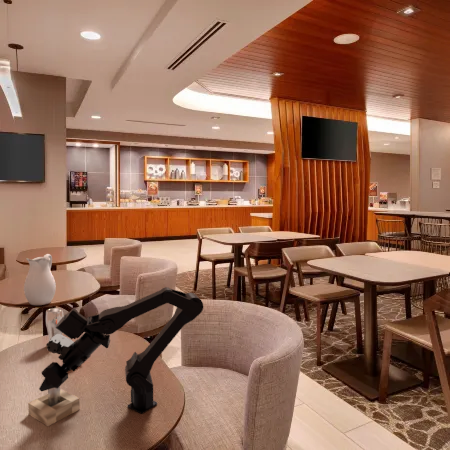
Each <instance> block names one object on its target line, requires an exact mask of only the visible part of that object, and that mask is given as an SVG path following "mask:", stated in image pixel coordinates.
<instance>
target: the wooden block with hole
mask: <svg viewBox="0 0 450 450" xmlns="http://www.w3.org/2000/svg"><path fill="white" fill-rule="evenodd" d="M27 404H28V405H27V407H28V408H27V410H28V415H29V416H31V417H32V418H34V419H35V420H37V421H38V422H40V423H42V424H44V425H45V426H46V427H49V426H51V425H53V424H55V423H57V422H59V421H61V420H62V419H65V418H66V417H68V416H70V415H72V414H73V413H76V412H77V411H80V408H81V406H80V398H79V397H77V396H76V395H74V394H72V393H70V392H68V391H66V390H64V389H62V388H60V403H58V404H56V405H54V406H52V407H50V406H48V393H46V394H44V395H43V396H40V397H38V398H36V399H34V400H31V401H29V402H27Z"/></svg>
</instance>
